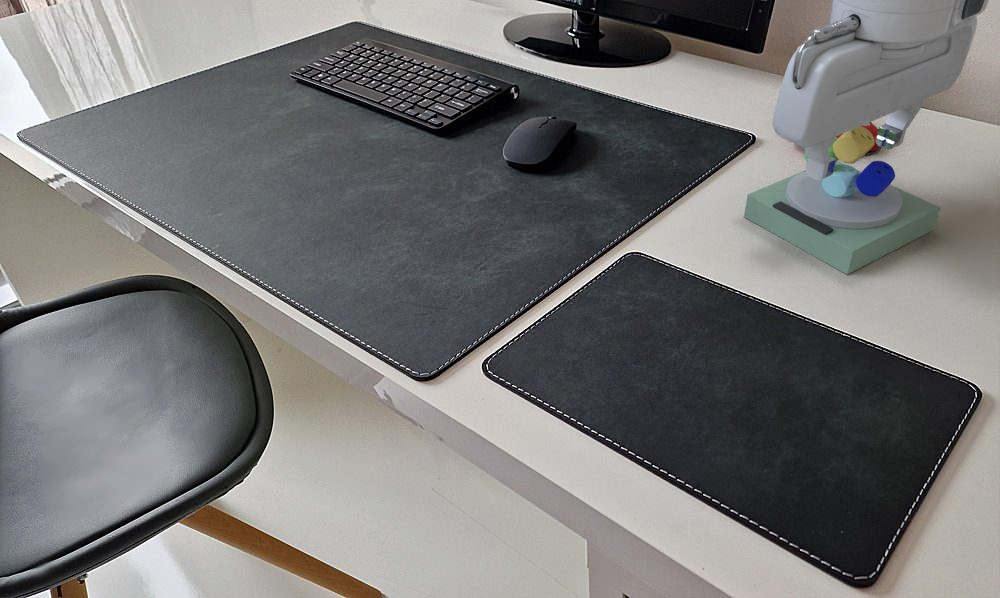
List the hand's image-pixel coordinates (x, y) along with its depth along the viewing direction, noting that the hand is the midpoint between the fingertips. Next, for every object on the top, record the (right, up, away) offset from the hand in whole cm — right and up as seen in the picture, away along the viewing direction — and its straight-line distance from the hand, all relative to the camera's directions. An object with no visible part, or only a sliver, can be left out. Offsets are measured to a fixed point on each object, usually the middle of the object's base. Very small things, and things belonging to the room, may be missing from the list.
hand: (854, 160), depth 71 cm
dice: (0, -3, +2) cm, 4 cm away
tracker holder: (+6, +6, +19) cm, 21 cm away
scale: (0, -5, +4) cm, 7 cm away
